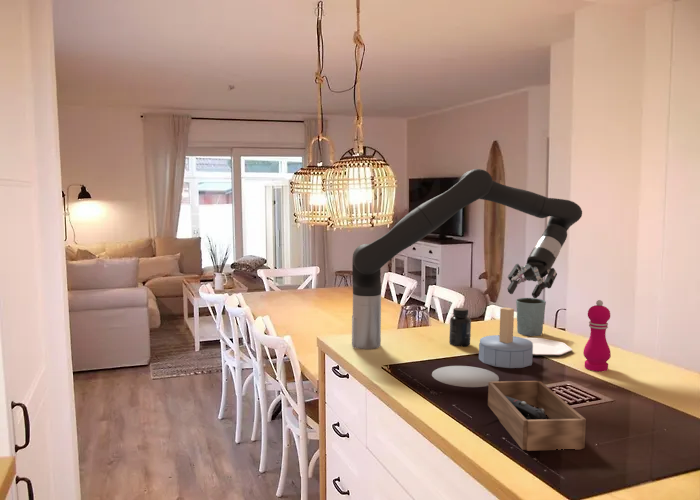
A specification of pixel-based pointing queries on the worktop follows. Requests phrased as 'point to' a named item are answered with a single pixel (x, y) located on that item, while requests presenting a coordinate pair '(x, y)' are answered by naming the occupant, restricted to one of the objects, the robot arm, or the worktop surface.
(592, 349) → the pepper mill
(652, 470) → the worktop surface
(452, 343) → the supplement bottle
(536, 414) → the can opener
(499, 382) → the caddy
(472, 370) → the mat
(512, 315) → the cover
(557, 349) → the plate
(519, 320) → the green cup
